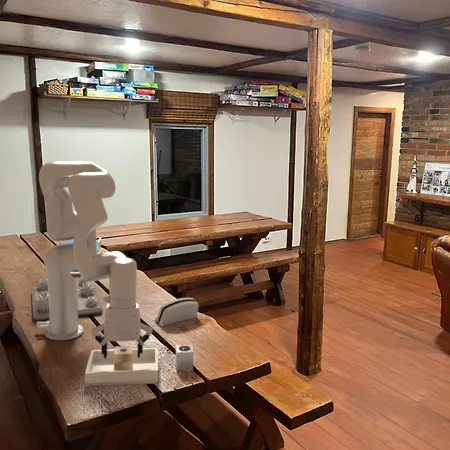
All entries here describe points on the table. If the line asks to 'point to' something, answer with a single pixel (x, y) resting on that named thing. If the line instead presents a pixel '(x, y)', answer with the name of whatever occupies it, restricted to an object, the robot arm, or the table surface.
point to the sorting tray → (106, 376)
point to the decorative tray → (86, 300)
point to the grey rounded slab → (177, 311)
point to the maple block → (123, 358)
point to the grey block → (184, 357)
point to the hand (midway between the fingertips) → (122, 355)
